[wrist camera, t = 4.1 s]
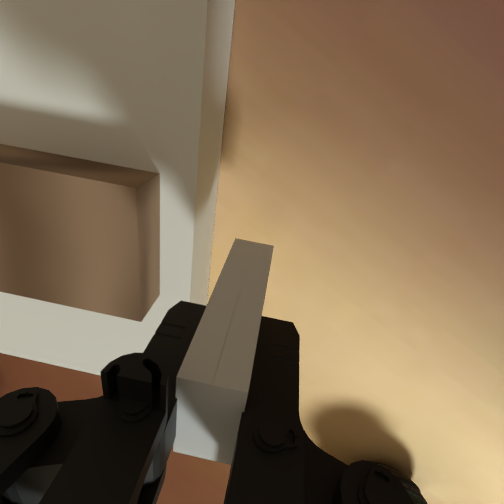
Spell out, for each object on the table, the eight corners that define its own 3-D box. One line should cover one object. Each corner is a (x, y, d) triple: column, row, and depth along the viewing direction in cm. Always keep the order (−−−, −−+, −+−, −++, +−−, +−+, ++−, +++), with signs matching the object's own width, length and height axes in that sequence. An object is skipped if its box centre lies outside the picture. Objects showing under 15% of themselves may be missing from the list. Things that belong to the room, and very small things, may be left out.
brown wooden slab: (159, 173, 12) (136, 187, 11) (159, 294, 15) (141, 322, 14) (-52, 134, 13) (-107, 141, 11) (-13, 258, 16) (-52, 280, 14)
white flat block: (237, -20, 12) (211, -60, 9) (202, 345, 22) (184, 394, 19) (-89, -69, 13) (-230, -123, 10) (15, 304, 23) (-36, 344, 19)
